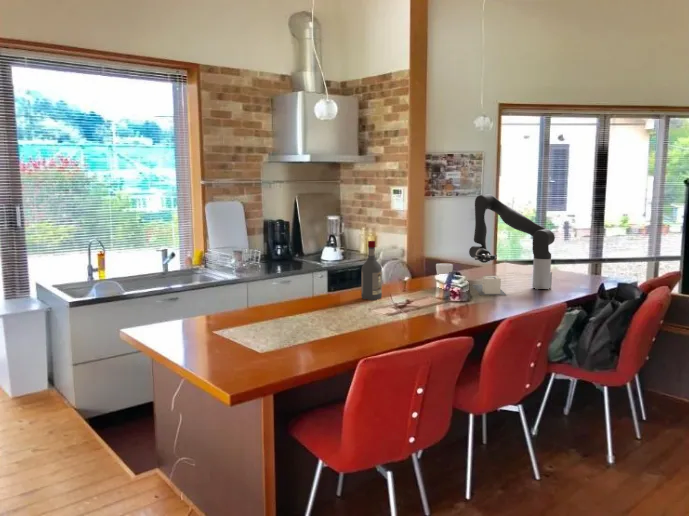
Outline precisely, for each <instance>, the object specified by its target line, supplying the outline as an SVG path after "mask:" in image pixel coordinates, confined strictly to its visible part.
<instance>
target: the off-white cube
mask: <svg viewBox="0 0 689 516" xmlns="http://www.w3.org/2000/svg"><path fill="white" fill-rule="evenodd" d="M501 281H502V279H501V278H500V277H499V276H496V275H493V276H492V275H491V276H487V275H485V276H482V285H483V286H482V291H483V292H484V293H485V294H500V289H501V285H502V284H501Z"/></svg>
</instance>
